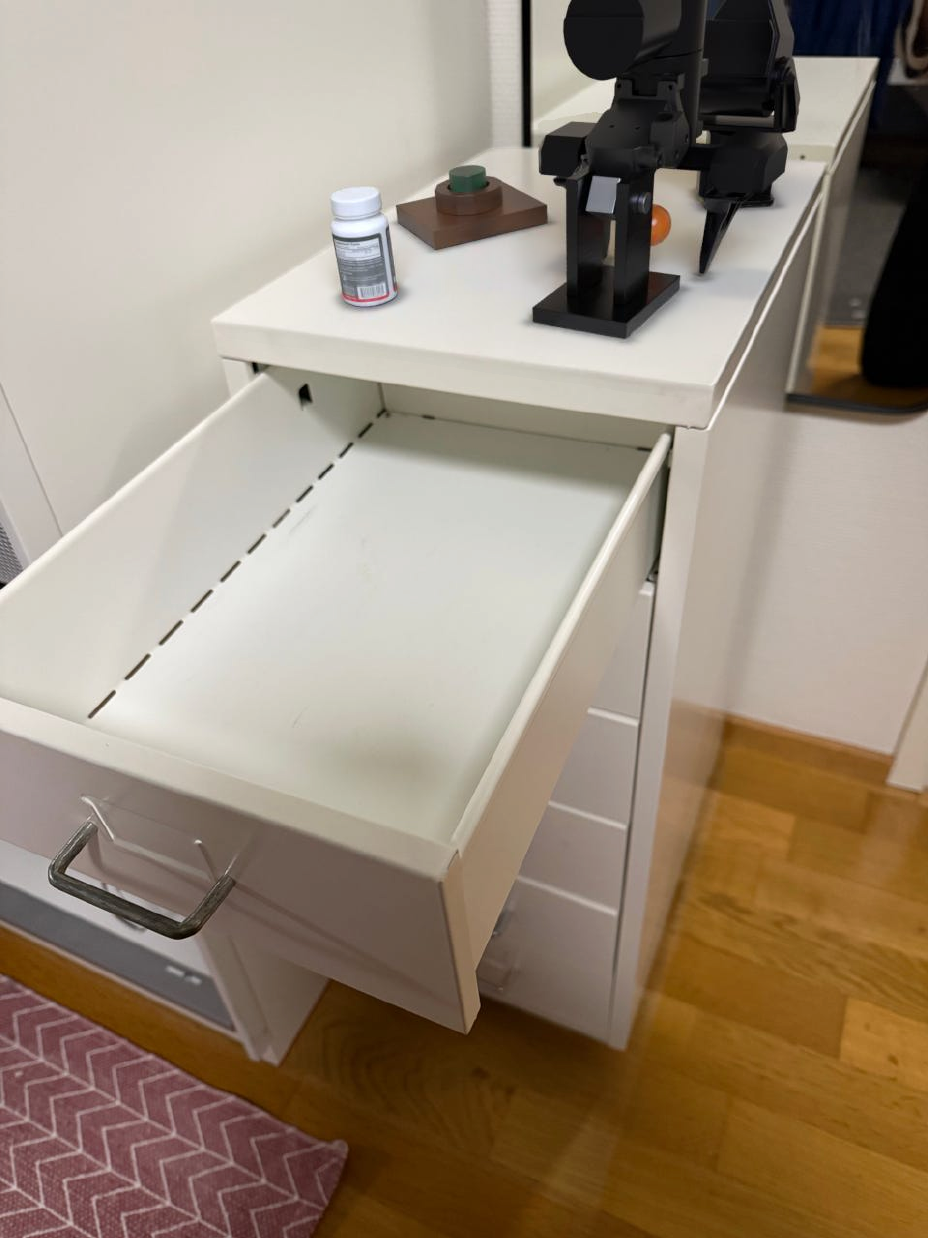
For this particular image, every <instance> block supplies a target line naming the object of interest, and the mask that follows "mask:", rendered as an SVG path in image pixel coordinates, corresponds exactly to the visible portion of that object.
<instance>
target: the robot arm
mask: <svg viewBox="0 0 928 1238" xmlns="http://www.w3.org/2000/svg"><path fill="white" fill-rule="evenodd" d="M708 2H709V0H570V1H569V3H568V7H567V9H566V13H565V17H564V18H563V23H562V34H563V43H564V47H565V49H566V52H567V55H568V57H569V59H570V61H571V63H572V64H573V66H574V67H575V68H576V69H577V70H578V71H579V72H580V73H581V74H582V75H584V76H586V77H587V78H588V79H591V80H596V81H601V82H604V81H610V80H614V79H615V82H614V85H613V88H614V89H613V97H612V101H611V104H610V107H609V108H608V109H606V110H604V112H603V114H601V115H600V117H599V118H598V120H597V121H596V122H590V121H589V122H588V121H575V120H574V121H573V120H572V121H569V122H568V123H565V124H564V125H562V126H559V127H558V128H556V129H555V130H553V131H550V132H549V133H547V134H545V136H544V137H543V139H542V140H541V142H540V145H539V148H538V150H537V151H538V153H537V155H538V156H537V157H538V173H539V174H540V175H541V176H552V177H553V178H552V183H553V184H554V186H556V187H561V188H563V189H565V190H566V179H567V178H569V177H570V176H572V175H573V174H575V173H577V172H578V171H580V170H582V169H583V168H585V167H586V166H588V165H589V168H590V169H594V171H595V176H604V177H615V178H621V179H622V180H623V179H624V178H626V177H627V176H629V175H630V174H632V173H641V172H646V171H649V170H651V169H655V173H657V171H658V170H661V169H664V170H678V171H692V172H696V180H695V181H696V182H695V190H696V193H697V196H698V198H701V201H702V205H703V207H704V208H706V214H705V219H704V220H705V221H704V227H703V232H702V233H703V234H702V239H701V245H700V251H699V259H698V260H699V261H698V274H699V275H705V274H706V273H707V272H708V271H709V269H710V267H711V265H712V263H713V261H714V260H715V259H714V258H715V256H716V254H717V252H718V250H719V249H720V246H721V244H722V242H723V239H724V238H725V235H726V234H727V231H728V229H729V227H730V225H731V223H732V221H733V219H734V217H735V215H736V214H737V213H738V210H739V209H740V207H755V206H756V207H757V206H772V205H774V203H775V196H774V195H773V193H772V188H773V183H774V182H775V181H776V180H778V179H779V178H780V177H781V176H782V175H784V173H785V172H786V166H787V159H788V152H789V148H788V143H787V141H786V139H785V137H784V135H783V134H788V133H793V132H795V131H796V130H797V123H798V116H799V114H800V113H799V112H800V103H801V93H800V87H799V82H798V81H799V80H798V75H797V69H796V64H795V59H794V57H793V51H794V45H795V33H794V30H793V27H792V24H791V21H790V18H789V16H788V11H787V9H786V6H785V3H784V1H783V0H723V2H722V3H721V5H720V6H719V7H718V9H717V11H716V12H715V14H714V15H713V17H712V19H707V15H708V4H709V3H708ZM703 132H706V134H705V135H706V137H705V143H702V142H697V139H698V138H700V137H701V136H702V135H703ZM611 230H612V220H604V229H603V261H604V260H605V259H607V257H608V254H609V248H610V243H611V242H610V241H611Z"/></svg>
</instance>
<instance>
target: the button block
mask: <svg viewBox="0 0 928 1238" xmlns="http://www.w3.org/2000/svg"><path fill="white" fill-rule="evenodd" d="M486 181H487V187H486V188H484V189H481V190H477V191H472V192H455V191H450V183H449V178H448V179H446V180H444V181H441V182H439V183H437V184H436V186H435V188H434V196H430V197H426V198H421V199H415V200H412V201H408V202H404V203H403V202H402V203H398V204H395V211H396V219H397V223H398V224H400V225H401V226H402V227H404V228H405V229H406V230H408V231H409V232H410V233H412V234H413V235H415V236H416V237H417V238H419V239H420V240H421V241H423V242H424V243H425V244H427V245H428V246H429V247H431V248H432V249H434V250H441V249H445V248H449V247H453V246H457V245H462V244H465V243H470V242H473V241H478V240H483V239H486V238H491V237H494V236H499V235H502V234H508V233H512V232H516V231H519V230H522V229H528V228H531V227H535V226H539V225H544V224H547V223H548V204H547V203H545V202H543V201H541V200H539V199H537V198H535V197H533V196H531V195H529V194H528V193H525V192H523V191H522V190H520V189H517V188H516V187H514V186H512V185H510V184H508V183H506V182H504V181H503V180H502V179H499V178H497V177H495V176H491V175H486Z"/></svg>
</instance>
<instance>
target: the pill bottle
mask: <svg viewBox="0 0 928 1238" xmlns="http://www.w3.org/2000/svg"><path fill="white" fill-rule="evenodd" d="M381 197H382V196H381V192H380V190H379V189H378V188H377V187H374V186H352V187H347V188H343V189H339V190H337V191H335V192H333V193H331V194H330V206H331V213H332V216H333V217H334V219H333V220H332V222H331V225H330V230H331V236H332V242H333V247H334V254H335V258H336V265H337V270H338V274H339V281H340V286H341V292H342V297H343V300H344V302H345V303H347V304H349V305H352V306H355V307H362V308H364V307H365V308H366V307H368V308H369V307H374V306H379V305H382V304H385V303H387V302H390V301H391V300H393V299H395V297H396V296H397V294H398V291H399V290H398V283H397V274H396V268H395V267H396V266H395V260H394V254H393V245H392V239H391V231H390V223H389V219H388V218H387V216H386V214H385V213H384V212H381V211H382V209H383V203H382V198H381Z"/></svg>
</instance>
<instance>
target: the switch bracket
mask: <svg viewBox="0 0 928 1238" xmlns="http://www.w3.org/2000/svg"><path fill="white" fill-rule="evenodd" d="M655 174H656V172H655V169H651V170H649V171H646V172H641V173H632V174H630V175H629V176H627V177H626V178H624V179H623V180H621V181H620V182H618V183H617V184H616V215H615V221H614V248H613V249H614V252H613V255H614V256H613V265H609V264H604V260H603V229H604V220H603V219H599V218H597V217H596V216H594V215H592V214H590V213H589V212H587V211H586V206H587V201H588V196H589V192H590V187H591V182H592V178H593V176H595V171H594V169H590V168H589V165H588V166H586V167H585V168H583V169H582V170H580V171H578V172H577V173H575V174H573V175H572V176H570V177H569V178H567V179H566V189H565V255H566V256H565V257H566V259H565V262H566V263H565V265H566V267H565V268H566V269H565V270H566V273H565V274H566V275H565V276H566V281H565V282H564V283H563V284H561V285H560V286H559V287H557V288H555V290H554V291H552V292H550V294H548V295H547V296H545V297H544V298H543V299H542V300H540V301H539V302H537V303H536V304H535V305H534V306H532V307H531V309H532V311H531V312H532V313H531V314H532V322H533V323H536V324H543V325H549V326H553V327H554V326H555V327H559V328H563V329H564V328H565V329H570V330H576V331H581V332H585V333H592V334H598V335H602V336H603V335H604V336H610V337H614V338H620V339H627V338H629V336H630V335H632V334H633V333H634V332H635V331H636V330H637V329H638V328H639V327H640V326H641V325H643V324H644V323H645V322H646V321H647V320H648V319H649V318H650V317H651V316H652V315H653V314H655V312H657V311H658V310H659V309H660V308H661V307H662V306H663V305H664V304H665V303H666V302H667V301H668V300H670V299H671V298H672V297H673V296H674V295H675V294H676V293H678V291H680V285H681V275H680V274H673V273H667V272H660V271H651V270H650V264H651V263H650V262H651V247H652V246H651V230H652V212H653V204H654V191H655Z"/></svg>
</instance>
